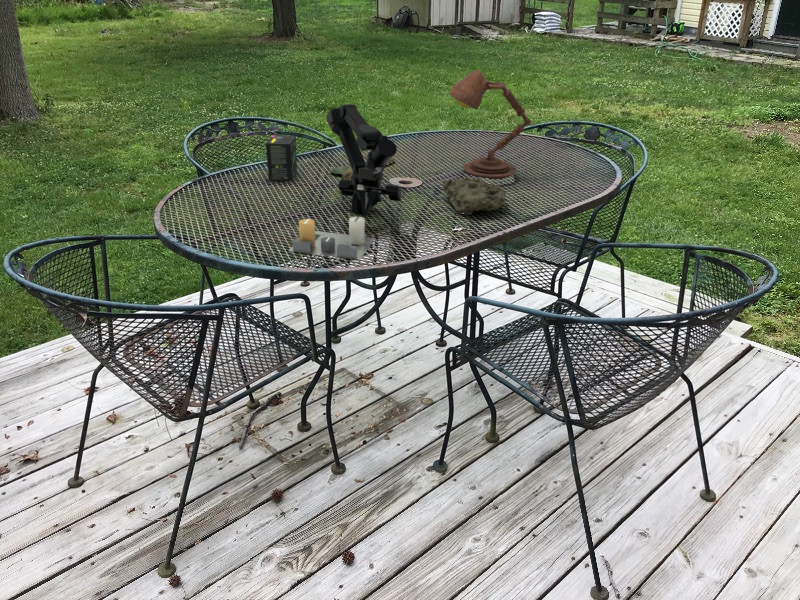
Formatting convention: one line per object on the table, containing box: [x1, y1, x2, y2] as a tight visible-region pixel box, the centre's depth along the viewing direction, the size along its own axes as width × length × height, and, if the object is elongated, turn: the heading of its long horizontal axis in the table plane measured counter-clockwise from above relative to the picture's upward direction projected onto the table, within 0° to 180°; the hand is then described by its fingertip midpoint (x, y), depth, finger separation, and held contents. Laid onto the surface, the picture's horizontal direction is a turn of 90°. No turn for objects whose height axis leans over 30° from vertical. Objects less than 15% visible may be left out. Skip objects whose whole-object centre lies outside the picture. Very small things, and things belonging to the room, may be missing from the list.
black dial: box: [321, 237, 335, 252], centre depth 184 cm, size 4×4×3 cm
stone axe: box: [330, 156, 396, 180], centre depth 253 cm, size 26×5×30 cm
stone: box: [442, 178, 507, 215], centre depth 221 cm, size 25×19×8 cm
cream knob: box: [348, 216, 365, 245], centre depth 187 cm, size 4×4×7 cm
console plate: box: [288, 230, 375, 260], centre depth 187 cm, size 16×21×4 cm
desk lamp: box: [449, 69, 532, 179], centre depth 242 cm, size 21×32×40 cm, turn 100°
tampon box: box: [265, 135, 298, 183], centre depth 242 cm, size 11×9×15 cm
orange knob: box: [298, 218, 316, 247], centre depth 185 cm, size 4×4×7 cm
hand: (364, 215), depth 194 cm, fingers closed
